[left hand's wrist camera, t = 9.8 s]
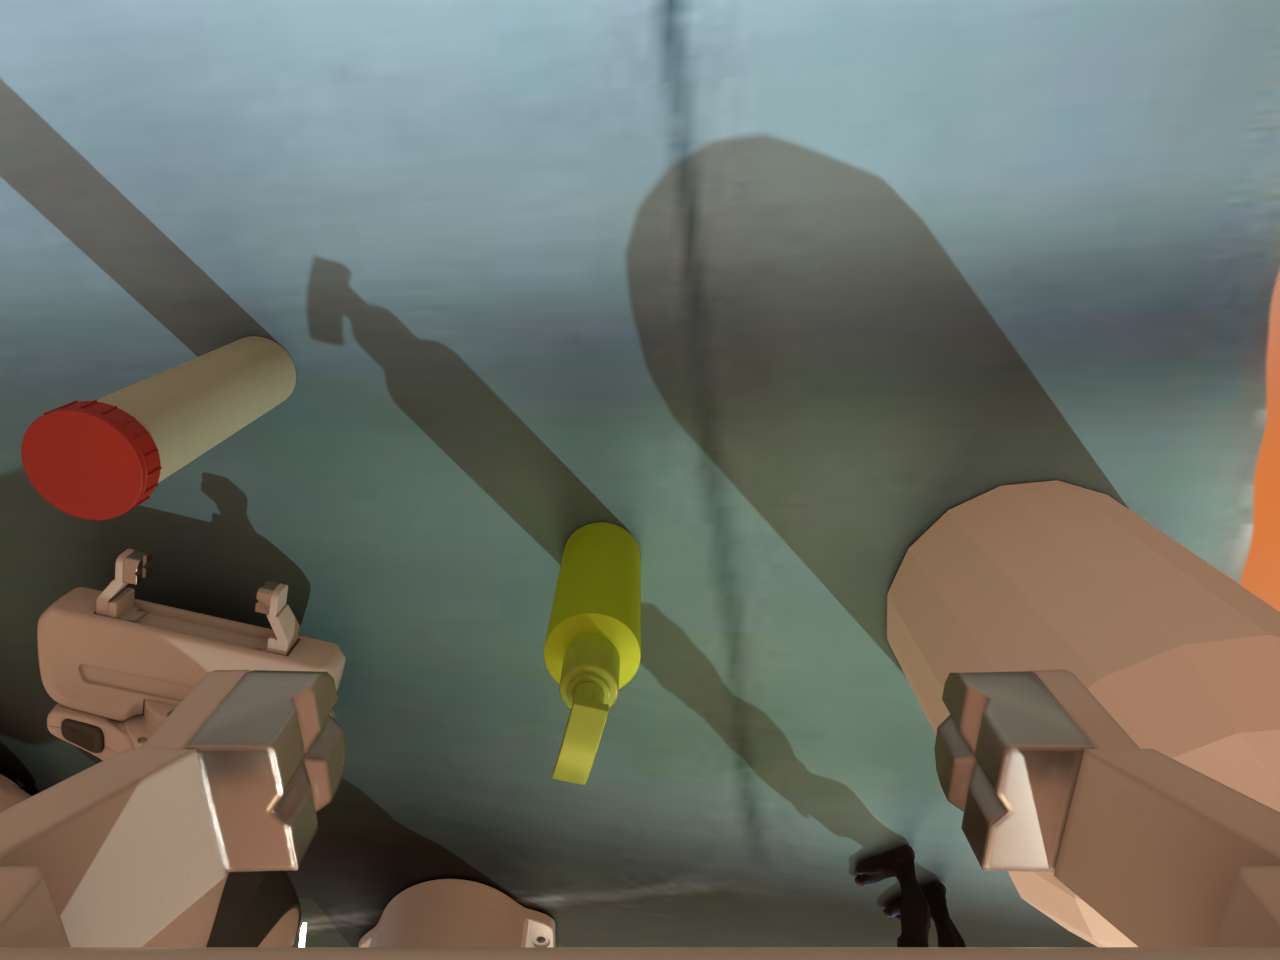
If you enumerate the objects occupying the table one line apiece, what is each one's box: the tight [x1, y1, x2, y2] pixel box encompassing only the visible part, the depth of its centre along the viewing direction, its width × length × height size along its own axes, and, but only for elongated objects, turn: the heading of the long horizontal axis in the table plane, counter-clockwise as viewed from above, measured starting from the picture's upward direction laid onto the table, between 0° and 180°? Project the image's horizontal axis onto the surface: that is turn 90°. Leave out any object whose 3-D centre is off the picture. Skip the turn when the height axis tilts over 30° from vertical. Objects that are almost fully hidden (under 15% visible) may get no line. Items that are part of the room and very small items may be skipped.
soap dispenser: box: [544, 522, 641, 785], centre depth 51 cm, size 6×7×20 cm
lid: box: [21, 400, 162, 520], centre depth 38 cm, size 6×6×2 cm
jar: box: [97, 336, 296, 483], centre depth 47 cm, size 5×5×19 cm
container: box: [887, 480, 1280, 947], centre depth 49 cm, size 21×21×28 cm
